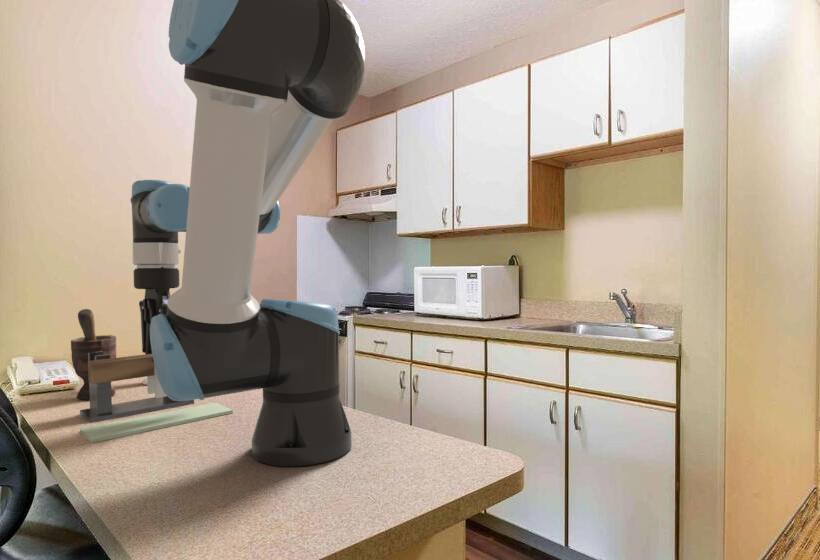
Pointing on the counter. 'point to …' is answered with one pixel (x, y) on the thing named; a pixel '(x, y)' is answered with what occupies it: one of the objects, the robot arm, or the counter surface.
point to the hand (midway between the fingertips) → (159, 394)
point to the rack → (105, 410)
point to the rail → (120, 368)
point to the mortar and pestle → (89, 349)
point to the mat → (153, 422)
